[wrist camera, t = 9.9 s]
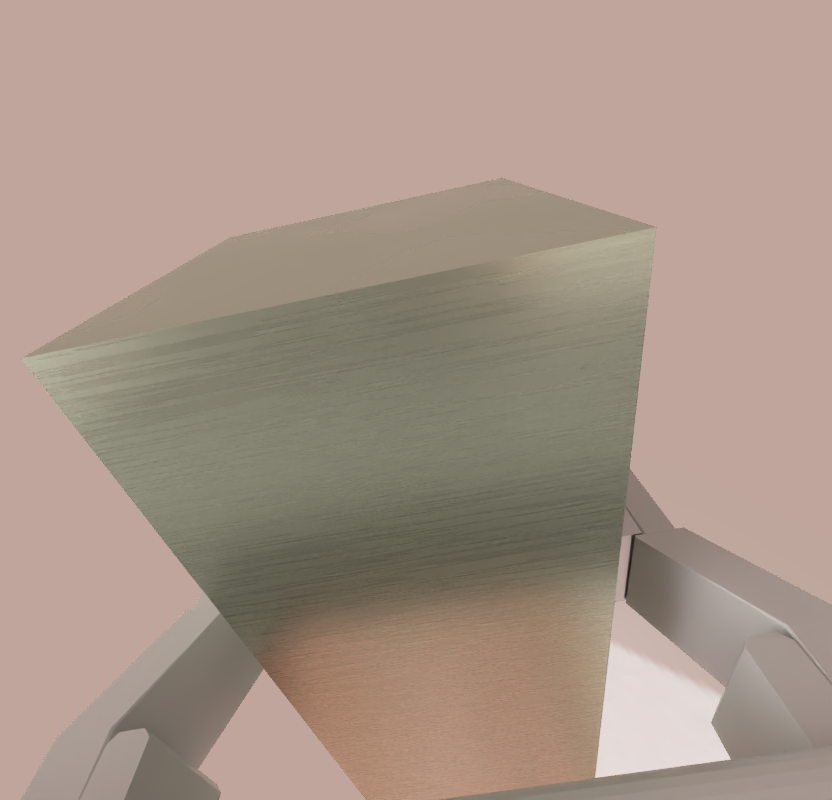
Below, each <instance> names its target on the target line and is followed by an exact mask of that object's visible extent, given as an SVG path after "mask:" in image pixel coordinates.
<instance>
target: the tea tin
mask: <svg viewBox="0 0 832 800" xmlns="http://www.w3.org/2000/svg"><path fill="white" fill-rule="evenodd" d="M655 235H656V227H654V226H651V225H648V224H644V223H641V222H638V221H635V220H632V219H629V218H626V217H623V216H619V215H616V214H613V213H610V212H607V211H604V210H600V209H598V208H594V207H591V206H588V205H585V204H582V203H579V202H575V201H572V200H569V199H566V198H563V197H560V196H557V195H554V194H550V193H547V192H544V191H541V190H538V189H535V188H532V187H528V186H525V185H522V184H519V183H516V182H513V181H510V180H506V179H503V178H501V179H496V180H492V181H487V182H482V183H478V184H473V185H469V186H464V187H459V188H455V189H450V190H446V191H441V192H437V193H432V194H427V195H423V196H419V197H414V198H409V199H405V200H400V201H395V202H391V203H386V204H382V205H377V206H373V207H368V208H363V209H359V210H354V211H350V212H345V213H340V214H336V215H331V216H327V217H322V218H317V219H313V220H308V221H304V222H299V223H294V224H290V225H285V226H281V227H276V228H271V229H267V230H263V231H258V232H253V233H249V234H244V235H239V236H235V237H230V238H229V239H227V240H225V241H223V242H222V243H220V244H218V245H217V246H215V247H213V248H211V249H209V250H208V251H206V252H204V253H203V254H201V255H199V256H198V257H196V258H194V259H192V260H191V261H189V262H187V263H185V264H184V265H182V266H180V267H178V268H177V269H175V270H173V271H171V272H170V273H168V274H166V275H165V276H163V277H161V278H159V279H158V280H156V281H154V282H152V283H151V284H149V285H147V286H146V287H144V288H142V289H141V290H139V291H137V292H135V293H133V294H132V295H130V296H128V297H127V298H125V299H123V300H122V301H120V302H118V303H116V304H114V305H113V306H111V307H109V308H108V309H106V310H104V311H103V312H101V313H99V314H97V315H95V316H94V317H92V318H90V319H89V320H87V321H85V322H83V323H82V324H80V325H78V326H76V327H75V328H73V329H71V330H70V331H68V332H66V333H64V334H63V335H61V336H59V337H57V338H56V339H54V340H52V341H51V342H49V343H47V344H45V345H44V346H42V347H40V348H39V349H37V350H35V351H33V352H32V353H30V354H28V355H26V356H25V357H23V358H22V360H23V361H24V362H25V364H26V365H27V366H28V368H29V369H30V370H31V371H32V373H33V374H34V375H35V376H36V378H37V379H38V380H39V382H40V383H41V384H42V385H43V387H44V388H45V389H46V391H47V392H48V393H49V394H50V396H51V397H52V398H53V400H54V401H55V402H56V403H57V405H58V406H59V407H60V408H61V410H62V411H63V412H64V414H65V415H66V416H67V417H68V419H69V420H70V421H71V422H72V424H73V425H74V426H75V428H76V429H77V430H78V432H79V433H80V434H81V435H82V437H83V438H84V439H85V440H86V442H87V443H88V444H89V446H90V447H91V448H92V449H93V451H94V452H95V453H96V454H97V456H98V457H99V458H100V460H101V461H102V462H103V464H104V465H105V466H106V467H107V469H108V470H109V471H110V472H111V474H112V475H113V476H114V478H115V479H116V480H117V481H118V483H119V484H120V485H121V486H122V488H123V489H124V490H125V492H126V493H127V494H128V495H129V497H130V498H131V499H132V501H133V502H134V503H135V504H136V506H137V507H138V508H139V509H140V511H141V512H142V513H143V515H144V516H145V517H146V518H147V520H148V521H149V522H150V524H151V525H152V526H153V527H154V529H155V530H156V531H157V533H158V534H159V535H160V536H161V538H162V539H163V540H164V542H165V543H166V544H167V545H168V546H169V548H170V549H171V550H172V552H173V553H174V554H175V556H176V557H177V558H178V559H179V561H180V562H181V563H182V564H183V566H184V567H185V568H186V570H187V571H188V572H189V573H190V575H191V576H192V577H193V579H194V580H195V581H196V582H197V584H198V585H199V586H200V587H201V589H202V590H203V591H204V593H205V594H206V595H207V597H208V598H209V599H210V600H211V602H212V603H213V604H214V606H215V607H216V608H217V609H218V611H219V612H220V613H221V614H222V616H223V617H224V618H225V620H226V621H227V622H228V623H229V625H230V626H231V627H232V629H233V630H234V631H235V632H236V634H237V635H238V636H239V638H240V639H241V640H242V641H243V643H244V644H245V645H246V646H247V648H248V649H249V650H250V652H251V653H252V654H253V655H254V657H255V658H256V659H257V661H258V662H259V663H260V664H261V666H262V667H263V668H264V669H265V671H266V672H267V673H268V675H269V676H270V677H271V678H272V680H273V681H274V682H275V683H276V685H277V686H278V687H279V689H280V690H281V691H282V693H283V694H284V695H285V696H286V697H287V699H288V700H289V701H290V703H291V704H292V705H293V706H294V708H295V709H296V710H297V712H298V713H299V714H300V715H301V717H302V718H303V719H304V721H305V722H306V723H307V724H308V726H309V727H310V728H311V730H312V731H313V732H314V733H315V735H316V736H317V737H318V739H319V740H320V741H321V742H322V744H323V745H324V746H325V748H326V749H327V750H328V751H329V753H330V754H331V755H332V756H333V758H334V759H335V760H336V762H337V763H338V764H339V765H340V767H341V768H342V769H343V771H344V772H345V773H346V774H347V776H348V777H349V778H350V780H351V781H352V782H353V783H354V784H355V786H356V787H357V788H358V790H359V791H360V792H361V794H362V795H363V796H364V797H365V799H366V800H439V799H447V798H454V797H461V796H469V795H476V794H483V793H491V792H498V791H505V790H512V789H520V788H527V787H534V786H542V785H549V784H556V783H564V782H571V781H578V780H586V779H593V778H595V773H596V764H597V755H598V746H599V737H600V728H601V719H602V710H603V701H604V692H605V683H606V674H607V665H608V656H609V647H610V638H611V629H612V620H613V611H614V602H615V594H616V585H617V576H618V567H619V558H620V549H621V540H622V531H623V522H624V513H625V504H626V495H627V486H628V477H629V468H630V459H631V450H632V441H633V431H634V423H635V414H636V406H637V405H636V404H637V397H638V387H639V379H640V370H641V361H642V352H643V343H644V333H645V325H646V316H647V306H648V298H649V288H650V280H651V271H652V261H653V253H654V243H655Z"/></svg>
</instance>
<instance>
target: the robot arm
mask: <svg viewBox="0 0 832 800" xmlns="http://www.w3.org/2000/svg"><path fill="white" fill-rule="evenodd" d="M624 600H626V603H627V604H628V605H629V606H630V607H632V608H633V609H634V610H635V611H636V612H638V613H639V614H640V615H641V616H642V617H644V618H645V619H646V620H647V621H648V622H649V623H650V624H652V625H653V626H654V627H655V628H656V629H657V630H659V631H660V632H661V633H662V634H663V635H665V636H666V637H667V638H668V639H669V640H670V641H672V642H673V643H674V644H675V645H676V646H678V647H679V648H680V649H681V650H682V651H683V652H685V653H686V654H687V655H688V656H690V657H691V658H692V659H693V660H694V661H695V662H696V663H698V664H699V665H700V666H701V667H702V668H704V669H705V670H706V671H707V672H708V673H709V674H711V675H712V676H713V677H714V678H715V679H717V680H718V681H719V682H720V683H721V684H722V685H724V686H725V687H726V688H725V690H724V692H723V695H722V697H721V699H720V702H719V704H718V707H717V709H716V711H715V714H714V717H713V719H712V722H711V723H712V725H713V727H714V729H715V731H716V732H717V734H718V736H719V738H720V740H721V742H722V743H723V745H724V747H725V749H726V751H727V753H728V754H729V756H730V758H731V760H725V761H717V762H710V763H703V764H695V765H688V766H681V767H674V768H666V769H659V770H652V771H644V772H637V773H630V774H622V775H615V776H608V777H600V778H593V779H586V780H578V781H571V782H564V783H556V784H549V785H542V786H534V787H527V788H520V789H512V790H505V791H498V792H491V793H483V794H476V795H469V796H461V797H454V798H447V799H439V800H832V605H831V604H829V603H827V602H825V601H823V600H821V599H819V598H818V597H816V596H814V595H811V594H810V593H808V592H806V591H804V590H802V589H800V588H798V587H796V586H794V585H793V584H791V583H789V582H787V581H785V580H783V579H781V578H779V577H777V576H776V575H774V574H772V573H770V572H768V571H766V570H764V569H762V568H760V567H758V566H756V565H754V564H753V563H751V562H749V561H747V560H745V559H743V558H741V557H739V556H737V555H735V554H733V553H731V552H730V551H727V550H726V549H724V548H722V547H720V546H718V545H716V544H714V543H712V542H710V541H708V540H707V539H705V538H703V537H701V536H699V535H697V534H695V533H693V532H691V531H689V530H688V529H685V528H677V529H675V528H674V526H673V525H672V524H671V522H670V521H669V520H668V519H667V517H666V516H665V515H664V513H663V512H662V511H661V509H660V508H659V507H658V505H657V504H656V503H655V501H654V500H653V499H652V497H651V496H650V495H649V493H648V492H647V491H646V489H645V488H644V487H643V486H642V484H641V483H640V481H638V479H637V478H636V476H635V475H634V474H633V472H632V471H631V469H630V468H629V477H628V486H627V495H626V504H625V513H624V522H623V531H622V540H621V549H620V558H619V567H618V576H617V585H616V594H615V602H616V601H624ZM263 669H264V668H263V667H262V666H261V664H260V663H259V662H258V661H257V659H256V658H255V657H254V655H253V654H252V653H251V652H250V650H249V649H248V648H247V646H246V645H245V644H244V643H243V641H242V640H241V639H240V638H239V636H238V635H237V634H236V632H235V631H234V630H233V629H232V627H231V626H230V625H229V623H228V622H227V621H226V620H225V618H224V617H223V616H222V614H221V613H220V612H219V611H218V609H217V608H216V607H215V606H214V604H213V603H212V602H211V600H210V599H209V598H208V597H207V595H206V594H205V593H204V591H203V590H201V592H200V594H199V597H198V599H197V601H196V604H195V606H194V609H193V610H188V611H185V612H184V613H183V614H182V615H181V616H180V617H179V618H178V619H177V620H176V621H175V622H174V623H173V624H172V625H171V626H170V627H169V628H168V629H167V630H166V631H165V632H164V633H163V634H162V635H161V636H160V637H159V638H158V639H156V641H154V642H153V644H152V645H150V646H149V647H148V648H147V649H146V650H145V651H144V652H143V653H142V654H141V655H140V656H139V657H138V658H137V659H136V660H135V661H134V662H133V663H132V664H131V665H130V666H129V667H128V668H127V669H126V670H125V671H124V672H123V673H122V674H121V675H120V676H119V677H118V678H117V679H116V680H115V681H114V682H113V683H112V684H111V685H110V686H109V687H108V688H107V689H106V690H105V691H104V692H103V693H102V694H101V695H100V696H99V697H98V698H96V699H95V700H94V702H93V703H91V704H90V705H89V706H88V707H87V708H86V709H85V710H84V711H83V712H82V713H81V714H80V715H79V716H78V717H77V718H76V719H75V720H74V721H73V722H72V723H71V724H70V725H69V726H68V727H67V728H66V729H65V730H64V731H63V732H62V733H61V734H60V735H59V736H58V737H57V738H56V739H55V741H54V743H53V745H52V746H51V748H50V750H49V752H48V753H47V755H46V757H45V759H44V760H43V762H42V764H41V766H40V767H39V769H38V771H37V773H36V775H35V776H34V778H33V780H32V781H31V783H30V785H29V787H28V788H27V790H26V792H25V794H24V795H23V797H22V799H21V800H219V798H220V793H221V792H220V790H219V788H218V786H217V784H216V783H215V782H213V781H212V780H211V779H209V778H208V777H207V776H206V775H204V774H203V773H202V772H200V771H199V770H198V768H199V767H200V765H201V764H202V762H203V761H204V759H205V758H206V756H207V754H208V753H209V752H210V750H211V748H212V747H213V745H214V744H215V742H216V741H217V739H218V737H219V736H220V735H221V733H222V732H223V730H224V728H225V727H226V726H227V724H228V722H229V721H230V719H231V718H232V716H233V715H234V713H235V712H236V710H237V708H238V707H239V706H240V704H241V702H242V701H243V700H244V698H245V696H246V695H247V693H248V692H249V690H250V689H251V687H252V686H253V684H254V683H255V681H256V680H257V678H258V676H259V675H260V674H261V672H262V670H263Z"/></svg>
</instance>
